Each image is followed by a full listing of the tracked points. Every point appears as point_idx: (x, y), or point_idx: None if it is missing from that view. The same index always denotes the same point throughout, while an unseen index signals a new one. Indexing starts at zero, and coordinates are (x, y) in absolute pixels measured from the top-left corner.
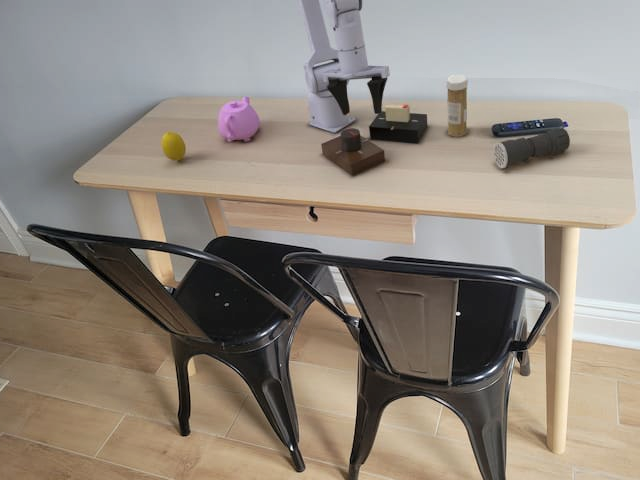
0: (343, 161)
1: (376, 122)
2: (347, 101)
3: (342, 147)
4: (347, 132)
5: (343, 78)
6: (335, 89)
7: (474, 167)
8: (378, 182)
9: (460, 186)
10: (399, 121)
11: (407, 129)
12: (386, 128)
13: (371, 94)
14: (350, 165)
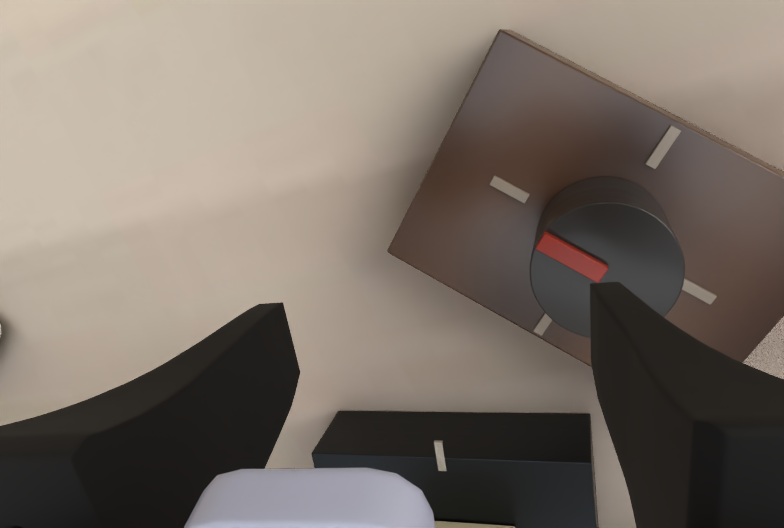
0: (586, 72)
1: (564, 506)
2: (614, 429)
3: (656, 201)
4: (628, 274)
5: (406, 482)
6: (704, 407)
7: (52, 281)
8: (341, 30)
9: (20, 133)
10: (436, 521)
11: (360, 454)
12: (478, 456)
13: (177, 387)
14: (506, 31)
